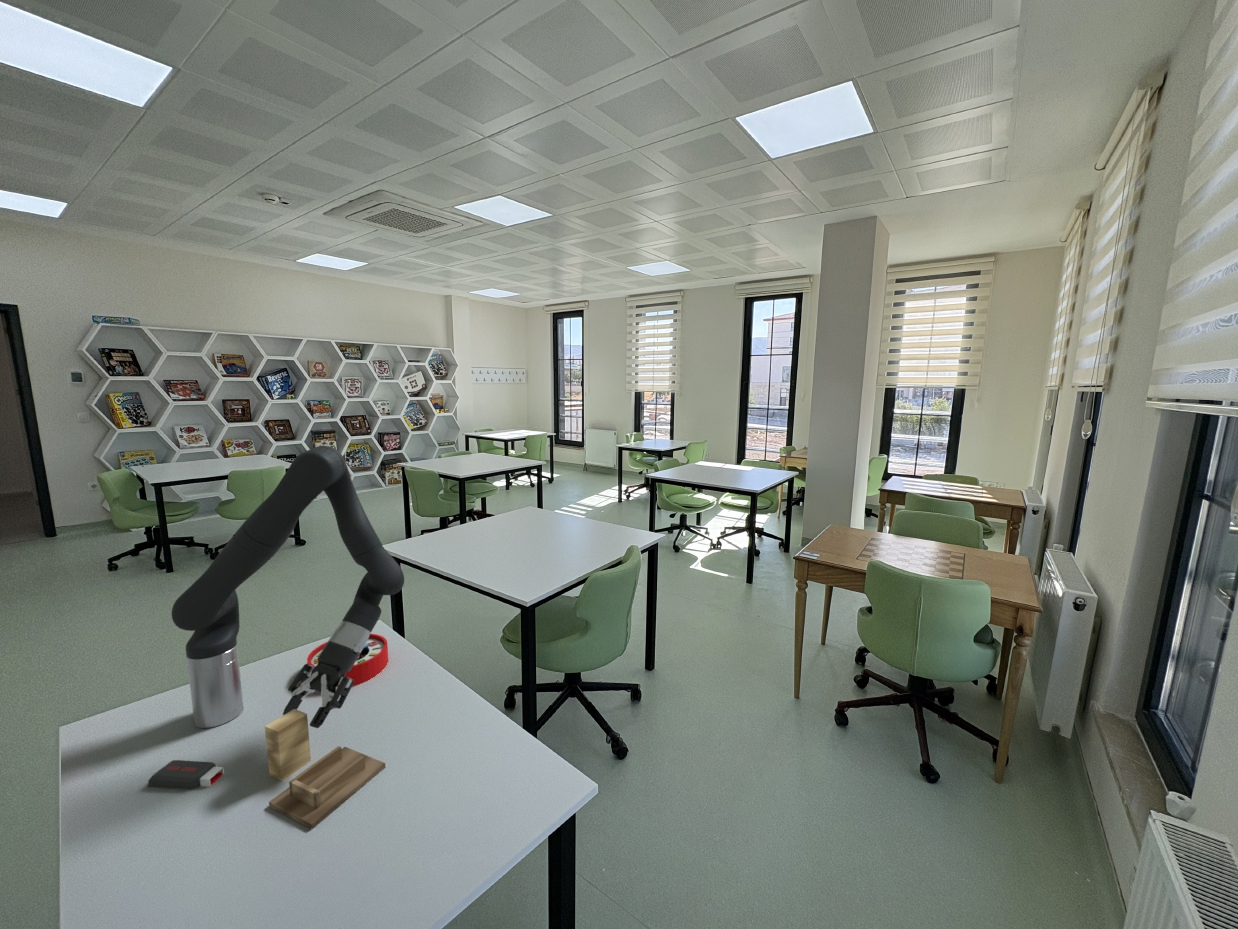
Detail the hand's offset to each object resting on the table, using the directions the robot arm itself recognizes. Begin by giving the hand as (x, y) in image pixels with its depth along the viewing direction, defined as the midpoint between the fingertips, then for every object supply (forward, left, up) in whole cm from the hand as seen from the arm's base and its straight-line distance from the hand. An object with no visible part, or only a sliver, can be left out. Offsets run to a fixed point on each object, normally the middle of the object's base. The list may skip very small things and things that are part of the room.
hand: (300, 721), depth 103 cm
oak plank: (0, -3, -9) cm, 9 cm away
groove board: (+12, -3, -9) cm, 15 cm away
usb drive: (-16, -13, -9) cm, 22 cm away
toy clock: (-22, +28, -9) cm, 37 cm away
